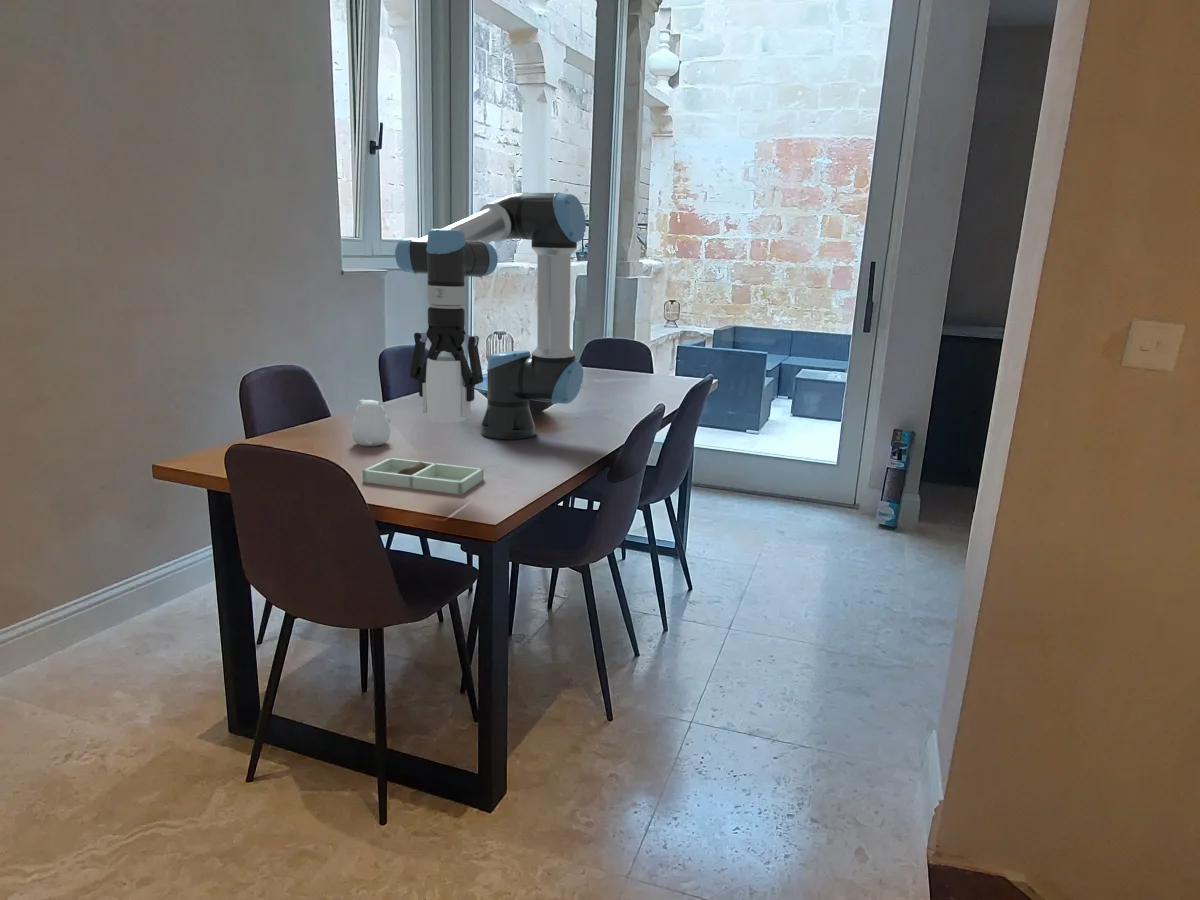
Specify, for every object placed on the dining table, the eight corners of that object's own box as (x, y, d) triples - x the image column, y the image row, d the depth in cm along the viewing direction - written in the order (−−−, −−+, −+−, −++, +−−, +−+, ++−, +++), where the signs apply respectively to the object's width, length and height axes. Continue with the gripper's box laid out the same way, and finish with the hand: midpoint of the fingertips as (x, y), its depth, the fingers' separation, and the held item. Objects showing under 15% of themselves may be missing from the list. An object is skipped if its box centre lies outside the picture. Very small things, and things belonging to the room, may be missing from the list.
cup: (441, 418, 174) (440, 354, 170) (474, 423, 171) (474, 358, 167) (418, 425, 166) (417, 359, 163) (452, 430, 163) (452, 362, 160)
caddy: (390, 470, 182) (389, 457, 181) (483, 481, 176) (483, 468, 175) (362, 483, 171) (362, 470, 170) (461, 496, 165) (461, 482, 165)
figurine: (389, 450, 199) (387, 403, 196) (348, 450, 197) (347, 403, 194) (392, 440, 208) (391, 396, 205) (354, 440, 207) (352, 395, 204)
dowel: (415, 459, 177) (427, 464, 177) (413, 471, 178) (425, 476, 178) (398, 468, 170) (410, 473, 169) (395, 481, 171) (407, 485, 170)
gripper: (390, 304, 162) (393, 412, 167) (486, 310, 156) (485, 422, 162) (408, 302, 169) (410, 406, 174) (500, 308, 164) (499, 415, 169)
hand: (446, 413), depth 168 cm, fingers closed on cup, 8 cm apart
